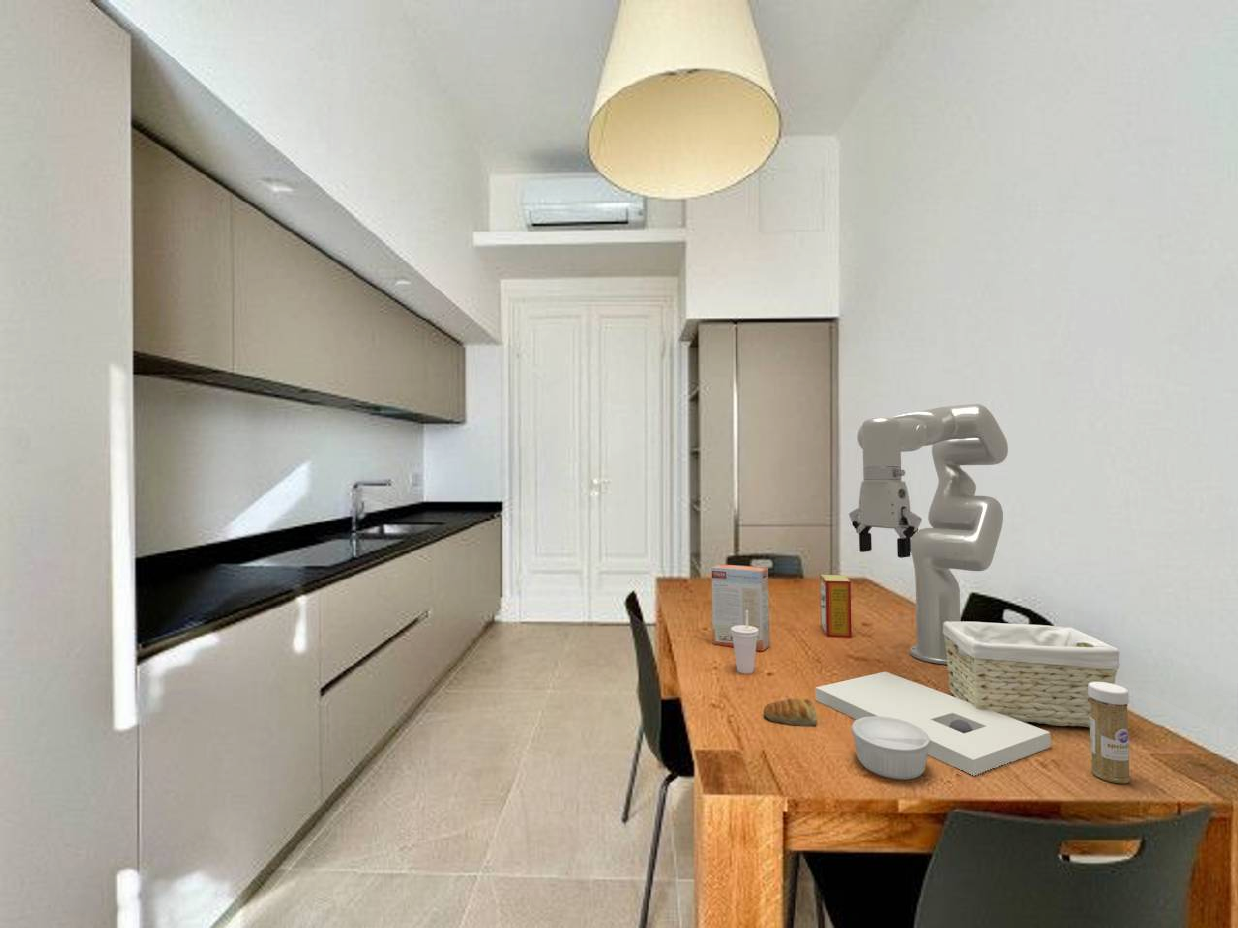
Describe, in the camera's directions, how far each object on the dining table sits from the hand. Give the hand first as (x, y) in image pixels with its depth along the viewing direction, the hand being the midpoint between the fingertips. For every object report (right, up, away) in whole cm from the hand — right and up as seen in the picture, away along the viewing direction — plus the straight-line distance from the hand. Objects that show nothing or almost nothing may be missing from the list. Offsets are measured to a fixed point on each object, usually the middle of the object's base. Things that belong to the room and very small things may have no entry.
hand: (884, 553), depth 122 cm
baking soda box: (+4, -29, +38) cm, 48 cm away
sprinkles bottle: (+16, -27, -38) cm, 49 cm away
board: (-2, -28, -19) cm, 34 cm away
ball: (+1, -26, -26) cm, 37 cm away
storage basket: (+20, -28, -15) cm, 37 cm away
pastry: (-25, -29, -17) cm, 42 cm away
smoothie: (-28, -29, +9) cm, 41 cm away
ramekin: (-15, -28, -34) cm, 46 cm away
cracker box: (-25, -29, +28) cm, 47 cm away
